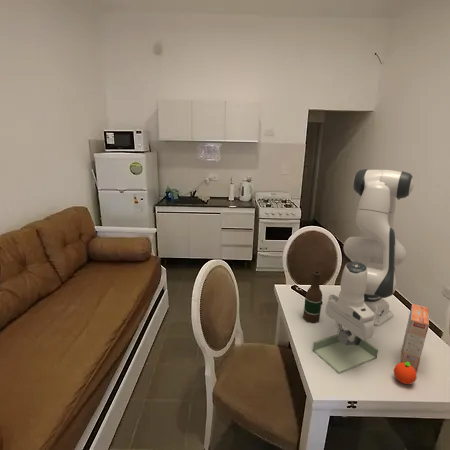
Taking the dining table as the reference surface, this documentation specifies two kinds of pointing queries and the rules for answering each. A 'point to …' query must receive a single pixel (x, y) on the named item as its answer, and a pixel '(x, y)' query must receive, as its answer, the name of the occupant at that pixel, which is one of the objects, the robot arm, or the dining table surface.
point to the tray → (344, 353)
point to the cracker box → (415, 335)
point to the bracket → (344, 338)
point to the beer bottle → (313, 300)
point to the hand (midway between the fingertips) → (345, 336)
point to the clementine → (405, 373)
